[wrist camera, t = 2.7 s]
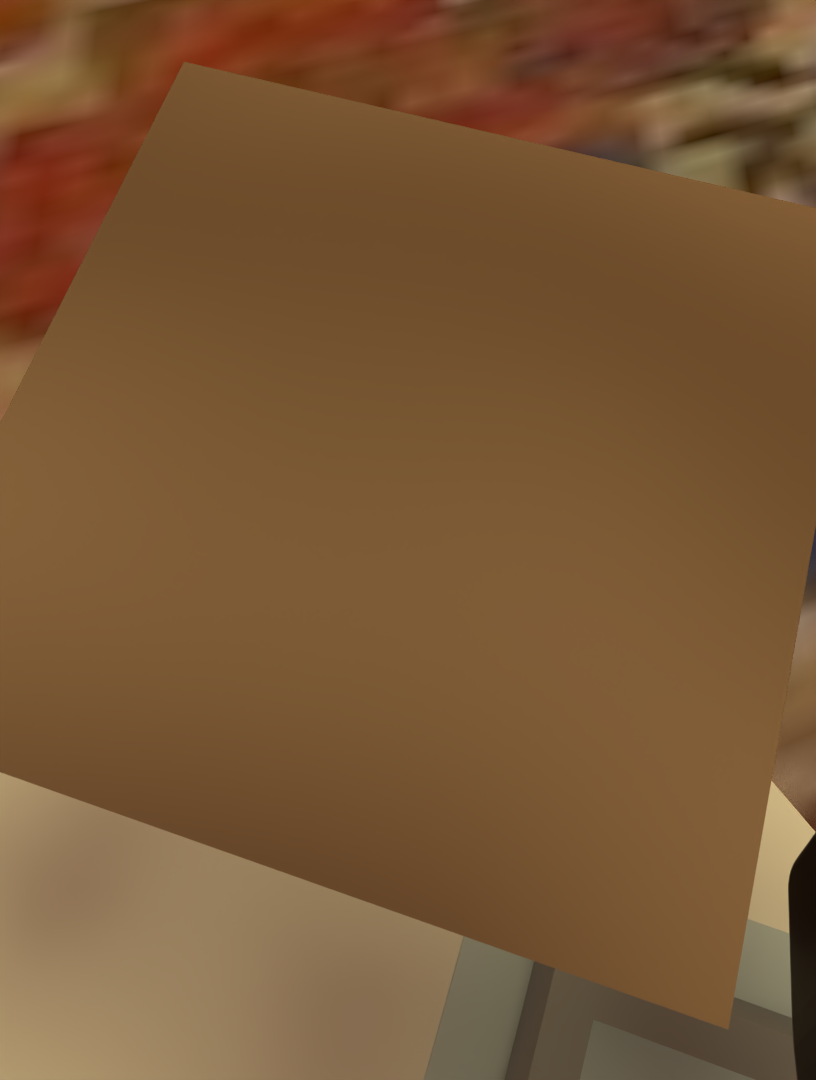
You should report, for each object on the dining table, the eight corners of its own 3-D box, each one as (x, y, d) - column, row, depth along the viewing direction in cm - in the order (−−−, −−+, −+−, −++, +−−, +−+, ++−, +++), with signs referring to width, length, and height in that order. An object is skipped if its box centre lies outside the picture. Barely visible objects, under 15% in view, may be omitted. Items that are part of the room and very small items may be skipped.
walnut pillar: (501, 828, 15) (728, 1030, 4) (271, 751, 16) (-149, 719, 4) (562, 597, 17) (868, 220, 5) (347, 533, 17) (185, 62, 6)
